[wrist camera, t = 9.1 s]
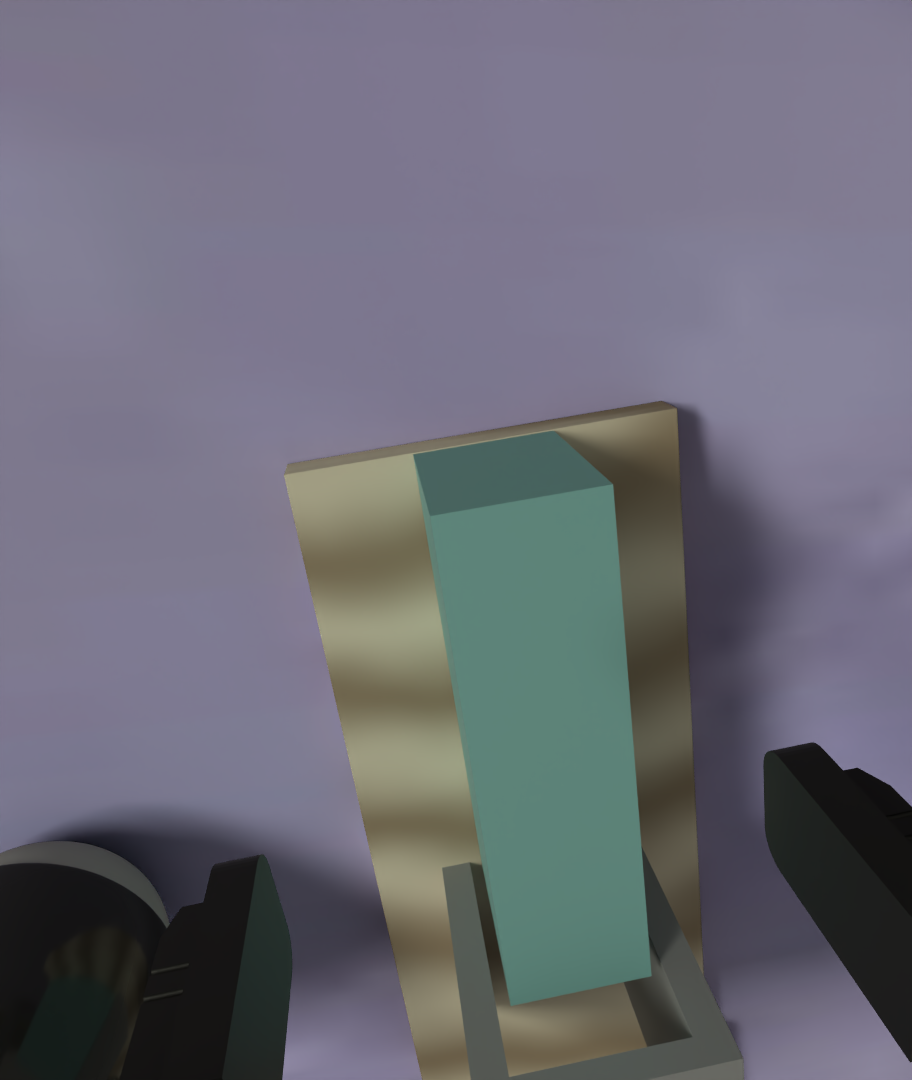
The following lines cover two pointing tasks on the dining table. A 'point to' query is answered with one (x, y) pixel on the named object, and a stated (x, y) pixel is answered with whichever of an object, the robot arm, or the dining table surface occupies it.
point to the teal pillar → (542, 705)
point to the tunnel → (658, 1001)
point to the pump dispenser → (72, 959)
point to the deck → (433, 732)
